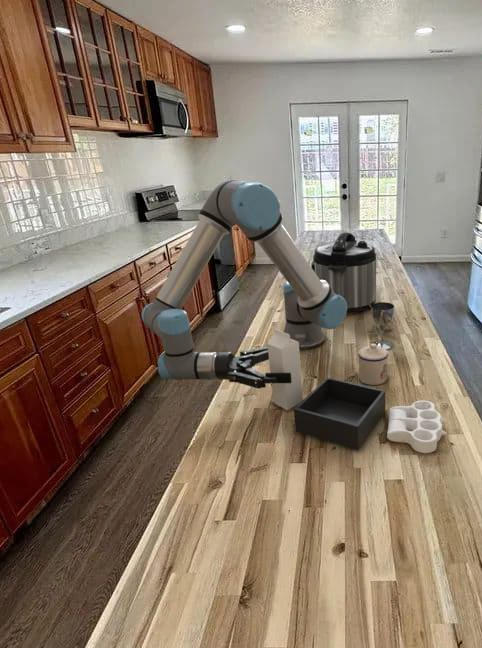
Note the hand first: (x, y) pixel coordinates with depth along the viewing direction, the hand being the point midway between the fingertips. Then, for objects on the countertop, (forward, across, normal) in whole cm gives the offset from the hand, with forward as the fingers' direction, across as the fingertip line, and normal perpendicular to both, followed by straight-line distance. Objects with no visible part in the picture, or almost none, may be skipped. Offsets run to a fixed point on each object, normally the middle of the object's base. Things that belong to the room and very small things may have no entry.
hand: (294, 365), depth 118 cm
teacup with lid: (+22, -15, -12) cm, 29 cm away
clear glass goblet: (+26, -52, -12) cm, 59 cm away
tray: (+13, +9, -12) cm, 20 cm away
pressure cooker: (+11, -80, -12) cm, 81 cm away
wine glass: (+26, -38, -12) cm, 47 cm away
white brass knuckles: (+32, +13, -12) cm, 37 cm away
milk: (-3, 0, -12) cm, 12 cm away
